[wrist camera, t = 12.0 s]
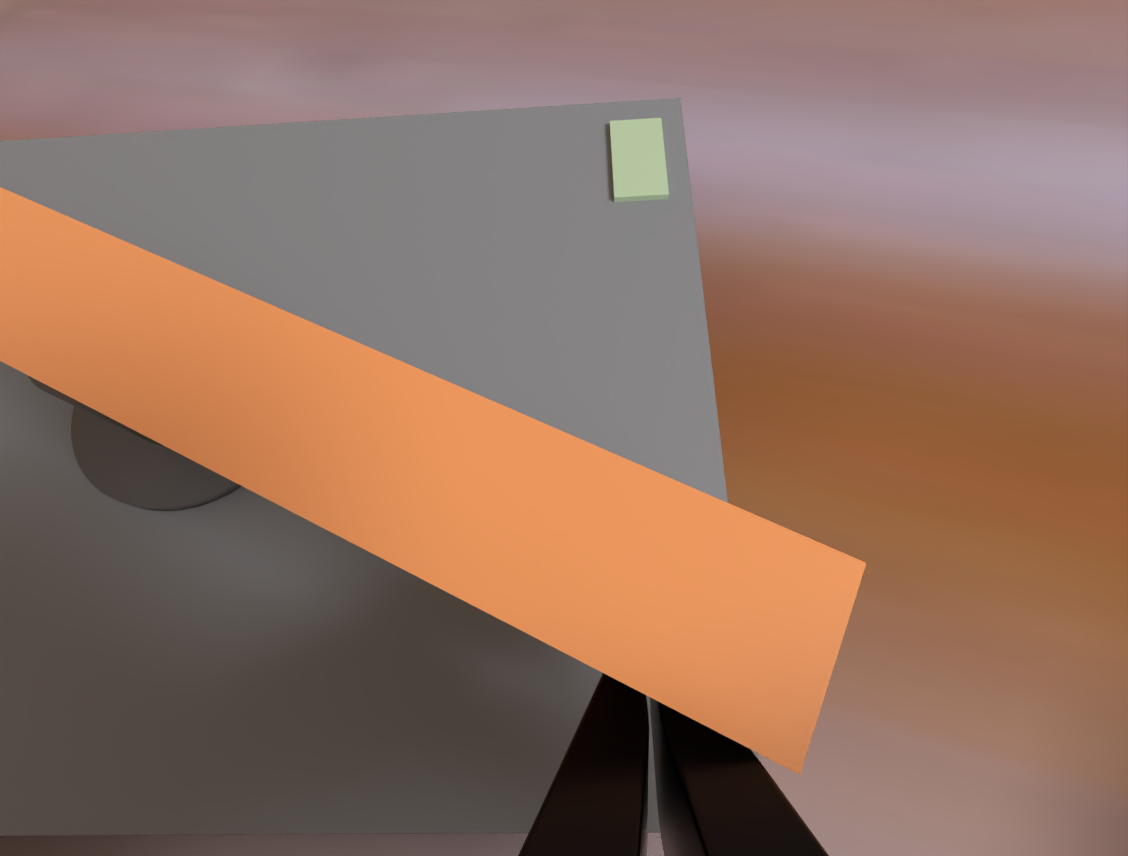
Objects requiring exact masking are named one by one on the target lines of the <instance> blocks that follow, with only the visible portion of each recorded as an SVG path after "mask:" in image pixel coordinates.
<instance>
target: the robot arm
mask: <svg viewBox="0 0 1128 856" xmlns="http://www.w3.org/2000/svg"><path fill="white" fill-rule="evenodd" d="M650 712H651V726H652V740H653V753H654V767H655V781H656V795H657V807H658V817H659V826H660V832H661V838H662V845H663V850H664V855H665V856H829V855H828V854H827V853H826V851H825V850H824V848H823V847H822V846H821V844H820V843H819V842H818V840H817V839H816V838H815V836H814V835H813V833H812V832H811V831H810V829H809V828H808V827H807V825H806V824H805V823H804V821H803V820H802V818H801V817H800V816H799V814H798V813H797V812H796V810H795V809H794V807H793V806H792V805H791V803H790V802H789V801H788V799H787V798H786V797H785V795H784V794H783V792H782V791H781V790H780V788H779V787H778V786H777V784H776V783H775V781H774V780H773V779H772V777H771V776H770V775H769V773H768V772H767V771H766V769H765V768H764V766H763V765H762V764H761V762H760V761H759V760H758V758H757V757H756V755H755V754H754V753H753V751H752V750H751V749H749V748H747V747H745V746H743V745H741V744H740V743H738V742H736V741H734V740H732V739H730V738H728V737H726V736H724V735H722V734H720V733H718V732H716V731H714V730H712V729H711V728H709V727H707V726H705V725H703V724H701V723H699V722H697V721H695V720H693V719H691V718H689V717H687V716H685V715H683V714H682V713H680V712H678V711H676V710H674V709H672V708H670V707H668V706H666V705H664V704H662V703H660V702H658V701H656V700H655V699H653V698H651V697H650ZM648 767H649V716H648V706H647V698H646V695H645V694H643V693H641V692H639V691H637V690H635V689H633V688H631V687H629V686H627V685H626V684H624V683H622V682H620V681H618V680H616V679H614V678H612V677H610V676H608V675H606V674H604V673H602V675H601V678H600V680H599V682H598V684H597V686H596V688H595V691H594V693H593V695H592V697H591V699H590V701H589V704H588V706H587V708H586V710H585V712H584V714H583V717H582V719H581V721H580V723H579V725H578V727H577V730H576V732H575V734H574V736H573V738H572V740H571V743H570V745H569V747H568V749H567V751H566V753H565V756H564V758H563V760H562V762H561V764H560V766H559V769H558V771H557V773H556V775H555V777H554V779H553V782H552V784H551V786H550V788H549V790H548V792H547V795H546V797H545V799H544V801H543V803H542V805H541V808H540V810H539V812H538V814H537V816H536V818H535V821H534V823H533V825H532V827H531V829H530V831H529V834H528V836H527V838H526V840H525V842H524V844H523V847H522V849H521V851H520V853H519V855H518V856H647V828H648Z"/></svg>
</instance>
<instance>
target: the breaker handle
mask: <svg viewBox="0 0 1128 856" xmlns="http://www.w3.org/2000/svg"><path fill="white" fill-rule="evenodd" d="M0 361H1V362H3V363H5V364H7V365H9V366H11V367H13V368H15V369H17V370H19V371H21V372H23V373H25V374H26V375H28V377H29V379H30V380H31V381H32V383H33V384H34V385H35V386H37V387H38V388H39V389H41V390H43V391H44V392H47V393H49V394H51V395H53V396H55V397H57V398H59V399H61V400H63V401H65V402H67V403H69V404H72V405H74V406H76V407H78V408H80V409H82V410H84V411H86V412H88V413H90V414H92V415H94V416H97V417H99V418H101V419H103V420H105V421H107V422H109V423H111V424H113V425H115V426H117V427H119V428H122V429H124V430H126V431H128V432H130V433H132V434H134V435H136V436H138V437H140V438H142V439H145V440H147V441H149V442H151V443H153V444H156V445H160V446H166V447H168V448H169V449H171V450H173V451H175V452H177V453H179V454H181V455H183V456H185V457H187V458H189V459H191V460H193V461H195V462H197V463H198V464H200V465H202V466H204V467H206V468H208V469H210V470H212V471H214V472H216V473H218V474H220V475H222V476H224V477H226V478H227V479H229V480H231V481H233V482H235V483H237V484H239V485H241V486H243V487H245V488H247V489H249V490H251V491H253V492H255V493H256V494H258V495H260V496H262V497H264V498H266V499H268V500H270V501H272V502H274V503H276V504H278V505H280V506H282V507H284V508H285V509H287V510H289V511H291V512H293V513H295V514H297V515H299V516H301V517H303V518H305V519H307V520H309V521H311V522H312V523H314V524H316V525H318V526H320V527H322V528H324V529H326V530H328V531H330V532H332V533H334V534H336V535H338V536H340V537H341V538H343V539H345V540H347V541H349V542H351V543H353V544H355V545H357V546H359V547H361V548H363V549H365V550H367V551H369V552H370V553H372V554H374V555H376V556H378V557H380V558H382V559H384V560H386V561H388V562H390V563H392V564H394V565H396V566H398V567H399V568H401V569H403V570H405V571H407V572H409V573H411V574H413V575H415V576H417V577H419V578H421V579H423V580H425V581H426V582H428V583H430V584H432V585H434V586H436V587H438V588H440V589H442V590H444V591H446V592H448V593H450V594H452V595H454V596H455V597H457V598H459V599H461V600H463V601H465V602H467V603H469V604H471V605H473V606H475V607H477V608H479V609H481V610H483V611H484V612H486V613H488V614H490V615H492V616H494V617H496V618H498V619H500V620H502V621H504V622H506V623H508V624H510V625H512V626H513V627H515V628H517V629H519V630H521V631H523V632H525V633H527V634H529V635H531V636H533V637H535V638H537V639H539V640H541V641H542V642H544V643H546V644H548V645H550V646H552V647H554V648H556V649H558V650H560V651H562V652H564V653H566V654H568V655H569V656H571V657H573V658H575V659H577V660H579V661H581V662H583V663H585V664H587V665H589V666H591V667H593V668H595V669H597V670H598V671H600V672H602V673H604V674H606V675H608V676H610V677H612V678H614V679H616V680H618V681H620V682H622V683H624V684H626V685H627V686H629V687H631V688H633V689H635V690H637V691H639V692H641V693H643V694H645V695H647V696H649V697H651V698H653V699H655V700H656V701H658V702H660V703H662V704H664V705H666V706H668V707H670V708H672V709H674V710H676V711H678V712H680V713H682V714H683V715H685V716H687V717H689V718H691V719H693V720H695V721H697V722H699V723H701V724H703V725H705V726H707V727H709V728H711V729H712V730H714V731H716V732H718V733H720V734H722V735H724V736H726V737H728V738H730V739H732V740H734V741H736V742H738V743H740V744H741V745H743V746H745V747H747V748H749V749H751V750H753V751H755V752H757V753H759V754H761V755H763V756H765V757H767V758H769V759H770V760H772V761H774V762H776V763H778V764H780V765H782V766H784V767H786V768H788V769H790V770H792V771H794V772H796V773H798V774H799V775H800V773H801V770H802V767H803V764H804V760H805V757H806V754H807V751H808V748H809V745H810V741H811V738H812V735H813V732H814V729H815V725H816V722H817V719H818V716H819V713H820V709H821V706H822V703H823V700H824V697H825V693H826V690H827V687H828V684H829V681H830V677H831V674H832V671H833V668H834V665H835V661H836V658H837V655H838V652H839V649H840V646H841V642H842V639H843V636H844V633H845V630H846V626H847V623H848V620H849V617H850V614H851V610H852V607H853V604H854V601H855V598H856V594H857V591H858V588H859V585H860V582H861V578H862V575H863V572H864V569H865V566H866V563H865V562H863V561H860V560H858V559H856V558H853V557H851V556H849V555H847V554H844V553H842V552H840V551H837V550H835V549H833V548H830V547H828V546H826V545H824V544H821V543H819V542H817V541H814V540H812V539H810V538H807V537H805V536H803V535H801V534H798V533H796V532H794V531H791V530H789V529H787V528H784V527H782V526H780V525H777V524H775V523H773V522H771V521H768V520H766V519H764V518H761V517H759V516H757V515H754V514H752V513H750V512H748V511H745V510H743V509H741V508H738V507H736V506H734V505H731V504H729V503H727V502H725V501H722V500H720V499H718V498H715V497H713V496H711V495H708V494H706V493H704V492H701V491H699V490H697V489H695V488H692V487H690V486H688V485H685V484H683V483H681V482H678V481H676V480H674V479H672V478H669V477H667V476H665V475H662V474H660V473H658V472H655V471H653V470H651V469H648V468H646V467H644V466H642V465H639V464H637V463H635V462H632V461H630V460H628V459H625V458H623V457H621V456H619V455H616V454H614V453H612V452H609V451H607V450H605V449H602V448H600V447H598V446H596V445H593V444H591V443H589V442H586V441H584V440H582V439H579V438H577V437H575V436H572V435H570V434H568V433H566V432H563V431H561V430H559V429H556V428H554V427H552V426H549V425H547V424H545V423H543V422H540V421H538V420H536V419H533V418H531V417H529V416H526V415H524V414H522V413H520V412H517V411H515V410H513V409H510V408H508V407H506V406H503V405H501V404H499V403H496V402H494V401H492V400H490V399H487V398H485V397H483V396H480V395H478V394H476V393H473V392H471V391H469V390H467V389H464V388H462V387H460V386H457V385H455V384H453V383H450V382H448V381H446V380H443V379H441V378H439V377H437V376H434V375H432V374H430V373H427V372H425V371H423V370H420V369H418V368H416V367H414V366H411V365H409V364H407V363H404V362H402V361H400V360H397V359H395V358H393V357H391V356H388V355H386V354H384V353H381V352H379V351H377V350H374V349H372V348H370V347H367V346H365V345H363V344H361V343H358V342H356V341H354V340H351V339H349V338H347V337H344V336H342V335H340V334H338V333H335V332H333V331H331V330H328V329H326V328H324V327H321V326H319V325H317V324H315V323H312V322H310V321H308V320H305V319H303V318H301V317H298V316H296V315H294V314H291V313H289V312H287V311H285V310H282V309H280V308H278V307H275V306H273V305H271V304H268V303H266V302H264V301H262V300H259V299H257V298H255V297H252V296H250V295H248V294H245V293H243V292H241V291H238V290H236V289H234V288H232V287H229V286H227V285H225V284H222V283H220V282H218V281H215V280H213V279H211V278H209V277H206V276H204V275H202V274H199V273H197V272H195V271H192V270H190V269H188V268H186V267H183V266H181V265H179V264H176V263H174V262H172V261H169V260H167V259H165V258H162V257H160V256H158V255H156V254H153V253H151V252H149V251H146V250H144V249H142V248H139V247H137V246H135V245H133V244H130V243H128V242H126V241H123V240H121V239H119V238H116V237H114V236H112V235H110V234H107V233H105V232H103V231H100V230H98V229H96V228H93V227H91V226H89V225H86V224H84V223H82V222H80V221H77V220H75V219H73V218H70V217H68V216H66V215H63V214H61V213H59V212H57V211H54V210H52V209H50V208H47V207H45V206H43V205H40V204H38V203H36V202H34V201H31V200H29V199H27V198H24V197H22V196H20V195H17V194H15V193H13V192H10V191H8V190H6V189H4V188H1V187H0Z"/></svg>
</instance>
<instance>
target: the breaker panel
mask: <svg viewBox="0 0 1128 856" xmlns="http://www.w3.org/2000/svg"><path fill="white" fill-rule="evenodd" d="M0 187H1V188H4V189H6V190H8V191H10V192H13V193H15V194H17V195H20V196H22V197H24V198H27V199H29V200H31V201H34V202H36V203H38V204H40V205H43V206H45V207H47V208H50V209H52V210H54V211H57V212H59V213H61V214H63V215H66V216H68V217H70V218H73V219H75V220H77V221H80V222H82V223H84V224H86V225H89V226H91V227H93V228H96V229H98V230H100V231H103V232H105V233H107V234H110V235H112V236H114V237H116V238H119V239H121V240H123V241H126V242H128V243H130V244H133V245H135V246H137V247H139V248H142V249H144V250H146V251H149V252H151V253H153V254H156V255H158V256H160V257H162V258H165V259H167V260H169V261H172V262H174V263H176V264H179V265H181V266H183V267H186V268H188V269H190V270H192V271H195V272H197V273H199V274H202V275H204V276H206V277H209V278H211V279H213V280H215V281H218V282H220V283H222V284H225V285H227V286H229V287H232V288H234V289H236V290H238V291H241V292H243V293H245V294H248V295H250V296H252V297H255V298H257V299H259V300H262V301H264V302H266V303H268V304H271V305H273V306H275V307H278V308H280V309H282V310H285V311H287V312H289V313H291V314H294V315H296V316H298V317H301V318H303V319H305V320H308V321H310V322H312V323H315V324H317V325H319V326H321V327H324V328H326V329H328V330H331V331H333V332H335V333H338V334H340V335H342V336H344V337H347V338H349V339H351V340H354V341H356V342H358V343H361V344H363V345H365V346H367V347H370V348H372V349H374V350H377V351H379V352H381V353H384V354H386V355H388V356H391V357H393V358H395V359H397V360H400V361H402V362H404V363H407V364H409V365H411V366H414V367H416V368H418V369H420V370H423V371H425V372H427V373H430V374H432V375H434V376H437V377H439V378H441V379H443V380H446V381H448V382H450V383H453V384H455V385H457V386H460V387H462V388H464V389H467V390H469V391H471V392H473V393H476V394H478V395H480V396H483V397H485V398H487V399H490V400H492V401H494V402H496V403H499V404H501V405H503V406H506V407H508V408H510V409H513V410H515V411H517V412H520V413H522V414H524V415H526V416H529V417H531V418H533V419H536V420H538V421H540V422H543V423H545V424H547V425H549V426H552V427H554V428H556V429H559V430H561V431H563V432H566V433H568V434H570V435H572V436H575V437H577V438H579V439H582V440H584V441H586V442H589V443H591V444H593V445H596V446H598V447H600V448H602V449H605V450H607V451H609V452H612V453H614V454H616V455H619V456H621V457H623V458H625V459H628V460H630V461H632V462H635V463H637V464H639V465H642V466H644V467H646V468H648V469H651V470H653V471H655V472H658V473H660V474H662V475H665V476H667V477H669V478H672V479H674V480H676V481H678V482H681V483H683V484H685V485H688V486H690V487H692V488H695V489H697V490H699V491H701V492H704V493H706V494H708V495H711V496H713V497H715V498H718V499H720V500H722V501H725V502H727V503H728V500H727V492H726V483H725V475H724V466H723V458H722V449H721V441H720V432H719V424H718V415H717V406H716V398H715V389H714V381H713V372H712V364H711V355H710V347H709V338H708V330H707V321H706V313H705V304H704V295H703V287H702V278H701V270H700V261H699V253H698V244H697V236H696V227H695V219H694V210H693V201H692V193H691V184H690V176H689V167H688V159H687V150H686V142H685V133H684V125H683V116H682V107H681V99H680V98H673V99H658V100H642V101H626V102H610V103H595V104H579V105H563V106H547V107H531V108H516V109H500V110H484V111H468V112H453V113H437V114H421V115H405V116H390V117H374V118H358V119H342V120H326V121H311V122H295V123H279V124H263V125H248V126H232V127H216V128H200V129H184V130H169V131H153V132H137V133H121V134H106V135H90V136H74V137H58V138H42V139H27V140H11V141H0ZM601 675H602V672H600V671H598V670H597V669H595V668H593V667H591V666H589V665H587V664H585V663H583V662H581V661H579V660H577V659H575V658H573V657H571V656H569V655H568V654H566V653H564V652H562V651H560V650H558V649H556V648H554V647H552V646H550V645H548V644H546V643H544V642H542V641H541V640H539V639H537V638H535V637H533V636H531V635H529V634H527V633H525V632H523V631H521V630H519V629H517V628H515V627H513V626H512V625H510V624H508V623H506V622H504V621H502V620H500V619H498V618H496V617H494V616H492V615H490V614H488V613H486V612H484V611H483V610H481V609H479V608H477V607H475V606H473V605H471V604H469V603H467V602H465V601H463V600H461V599H459V598H457V597H455V596H454V595H452V594H450V593H448V592H446V591H444V590H442V589H440V588H438V587H436V586H434V585H432V584H430V583H428V582H426V581H425V580H423V579H421V578H419V577H417V576H415V575H413V574H411V573H409V572H407V571H405V570H403V569H401V568H399V567H398V566H396V565H394V564H392V563H390V562H388V561H386V560H384V559H382V558H380V557H378V556H376V555H374V554H372V553H370V552H369V551H367V550H365V549H363V548H361V547H359V546H357V545H355V544H353V543H351V542H349V541H347V540H345V539H343V538H341V537H340V536H338V535H336V534H334V533H332V532H330V531H328V530H326V529H324V528H322V527H320V526H318V525H316V524H314V523H312V522H311V521H309V520H307V519H305V518H303V517H301V516H299V515H297V514H295V513H293V512H291V511H289V510H287V509H285V508H284V507H282V506H280V505H278V504H276V503H274V502H272V501H270V500H268V499H266V498H264V497H262V496H260V495H258V494H256V493H255V492H253V491H251V490H249V489H247V488H245V487H243V486H241V485H239V484H237V483H235V482H233V481H231V480H229V479H227V478H226V477H224V476H222V475H220V474H218V473H216V472H214V471H212V470H210V469H208V468H206V467H204V466H202V465H200V464H198V463H197V462H195V461H193V460H191V459H189V458H187V457H185V456H183V455H181V454H179V453H177V452H175V451H173V450H171V449H169V448H168V447H166V446H160V445H156V444H153V443H151V442H149V441H147V440H145V439H142V438H140V437H138V436H136V435H134V434H132V433H130V432H128V431H126V430H124V429H122V428H119V427H117V426H115V425H113V424H111V423H109V422H107V421H105V420H103V419H101V418H99V417H97V416H94V415H92V414H90V413H88V412H86V411H84V410H82V409H80V408H78V407H76V406H74V405H72V404H69V403H67V402H65V401H63V400H61V399H59V398H57V397H55V396H53V395H51V394H49V393H47V392H44V391H43V390H41V389H39V388H38V387H37V386H35V385H34V384H33V383H32V381H31V380H30V379H29V377H28V375H26V374H25V373H23V372H21V371H19V370H17V369H15V368H13V367H11V366H9V365H7V364H5V363H3V362H1V361H0V836H35V835H239V834H444V833H529V831H530V829H531V827H532V825H533V823H534V821H535V818H536V816H537V814H538V812H539V810H540V808H541V805H542V803H543V801H544V799H545V797H546V795H547V792H548V790H549V788H550V786H551V784H552V782H553V779H554V777H555V775H556V773H557V771H558V769H559V766H560V764H561V762H562V760H563V758H564V756H565V753H566V751H567V749H568V747H569V745H570V743H571V740H572V738H573V736H574V734H575V732H576V730H577V727H578V725H579V723H580V721H581V719H582V717H583V714H584V712H585V710H586V708H587V706H588V704H589V701H590V699H591V697H592V695H593V693H594V691H595V688H596V686H597V684H598V682H599V680H600V678H601ZM646 698H647V706H648V716H649V767H648V828H647V833H648V832H660V826H659V817H658V807H657V795H656V781H655V767H654V753H653V740H652V726H651V712H650V697H649V696H647V695H646ZM752 751H753V750H752ZM753 753H754V754H755V755H756V757H757V752H755V751H753ZM757 758H758V757H757Z"/></svg>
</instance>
